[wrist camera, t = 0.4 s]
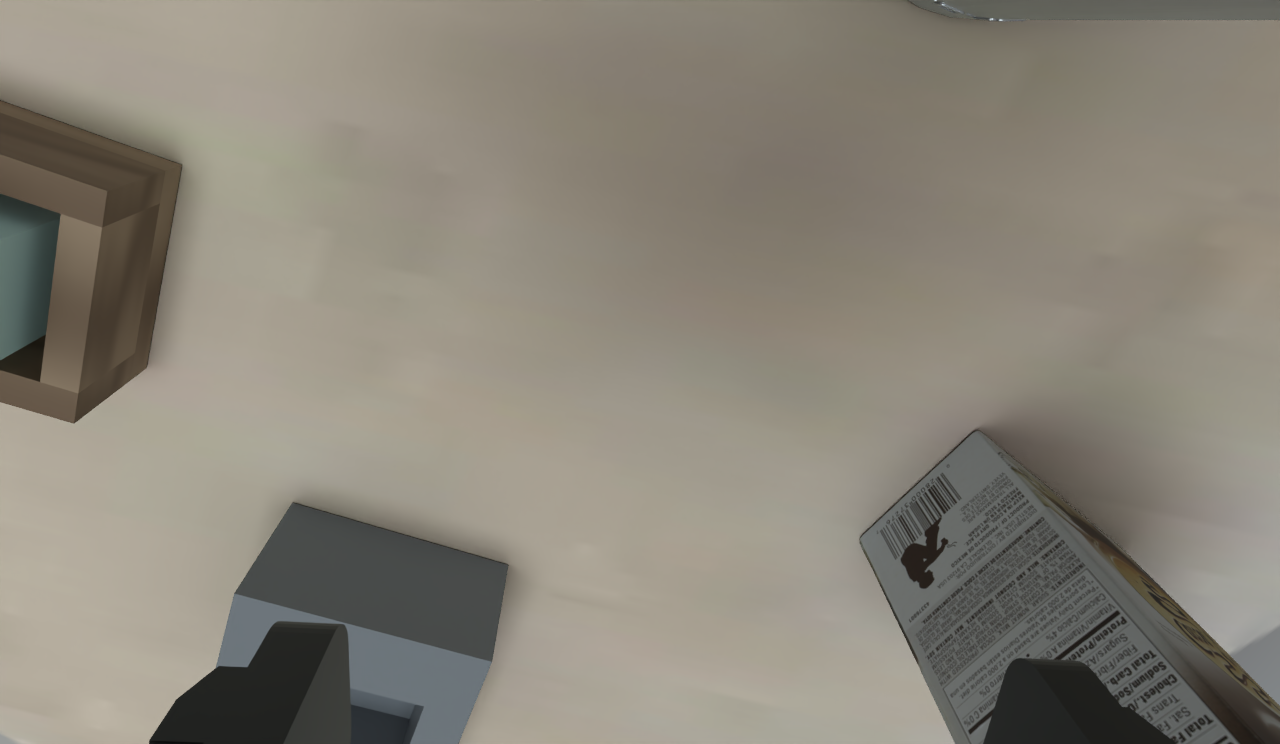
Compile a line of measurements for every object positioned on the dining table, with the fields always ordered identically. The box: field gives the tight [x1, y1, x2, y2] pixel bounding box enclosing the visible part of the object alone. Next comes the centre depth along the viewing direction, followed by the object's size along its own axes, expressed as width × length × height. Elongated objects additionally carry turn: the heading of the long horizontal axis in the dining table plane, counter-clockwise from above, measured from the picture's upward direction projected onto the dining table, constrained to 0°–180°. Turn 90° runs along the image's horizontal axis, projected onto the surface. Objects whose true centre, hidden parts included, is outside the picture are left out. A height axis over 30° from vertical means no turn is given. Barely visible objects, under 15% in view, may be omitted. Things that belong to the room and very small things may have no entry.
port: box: [216, 503, 508, 744], centre depth 29 cm, size 10×8×5 cm
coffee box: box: [860, 431, 1280, 744], centre depth 24 cm, size 9×6×16 cm
